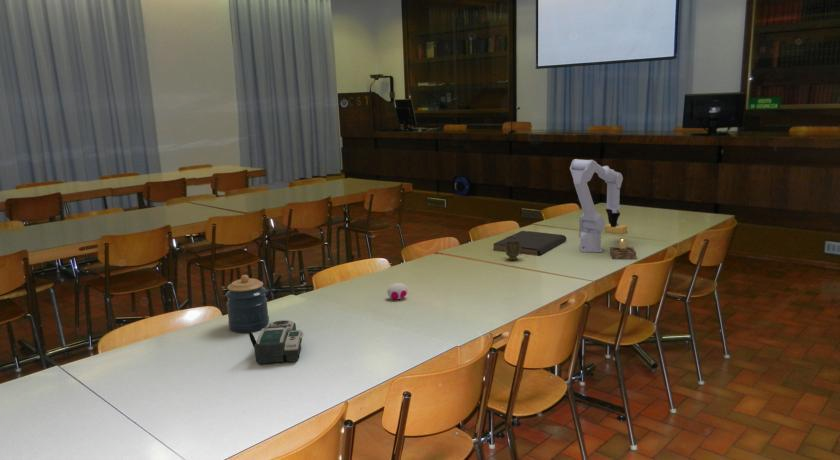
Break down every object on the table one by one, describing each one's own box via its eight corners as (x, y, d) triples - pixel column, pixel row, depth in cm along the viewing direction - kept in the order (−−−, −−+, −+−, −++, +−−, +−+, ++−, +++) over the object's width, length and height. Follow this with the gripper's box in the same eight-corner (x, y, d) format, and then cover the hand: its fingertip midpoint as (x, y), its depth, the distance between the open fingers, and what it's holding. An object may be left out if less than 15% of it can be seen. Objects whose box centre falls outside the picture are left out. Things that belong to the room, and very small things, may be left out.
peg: (619, 257, 277) (619, 239, 275) (617, 255, 280) (618, 238, 278) (626, 257, 276) (627, 239, 274) (625, 255, 279) (625, 238, 278)
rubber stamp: (604, 232, 328) (604, 209, 325) (609, 230, 332) (609, 208, 329) (622, 234, 321) (622, 211, 319) (627, 232, 325) (627, 209, 323)
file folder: (521, 229, 323) (566, 234, 310) (521, 237, 324) (566, 242, 311) (492, 243, 296) (540, 248, 283) (492, 251, 297) (539, 257, 284)
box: (612, 259, 274) (612, 252, 273) (609, 253, 284) (609, 247, 283) (636, 259, 272) (636, 252, 272) (632, 253, 282) (632, 247, 281)
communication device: (307, 329, 204) (305, 298, 202) (301, 363, 176) (298, 328, 174) (263, 332, 202) (260, 301, 200) (249, 367, 175) (246, 331, 173)
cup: (520, 257, 282) (520, 240, 280) (521, 261, 275) (521, 244, 273) (504, 257, 283) (504, 240, 281) (504, 261, 276) (504, 244, 274)
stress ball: (389, 309, 228) (390, 298, 223) (385, 292, 233) (385, 281, 229) (409, 306, 230) (411, 295, 225) (405, 289, 235) (406, 278, 230)
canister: (253, 317, 216) (249, 267, 212) (277, 324, 207) (273, 273, 204) (220, 328, 206) (215, 276, 202) (244, 336, 198) (239, 283, 194)
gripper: (624, 199, 288) (623, 228, 291) (620, 194, 302) (619, 222, 305) (608, 199, 289) (607, 228, 292) (604, 194, 303) (604, 222, 306)
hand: (612, 225), depth 298 cm, fingers open, 7 cm apart
